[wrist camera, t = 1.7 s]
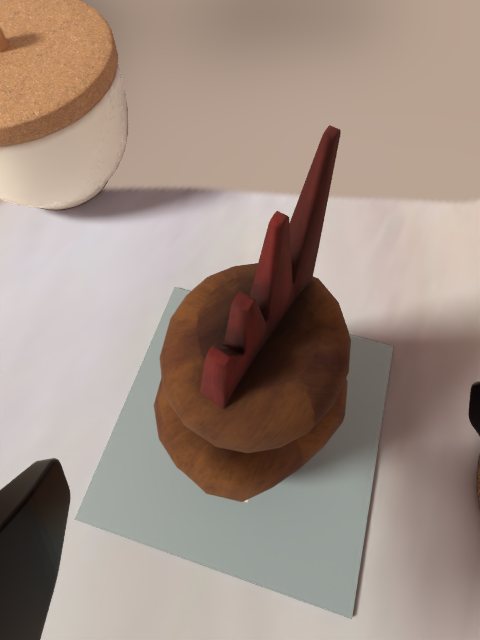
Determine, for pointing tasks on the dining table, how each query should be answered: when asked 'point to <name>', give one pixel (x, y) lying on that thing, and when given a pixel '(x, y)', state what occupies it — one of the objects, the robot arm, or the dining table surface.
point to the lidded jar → (58, 103)
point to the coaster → (478, 479)
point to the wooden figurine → (258, 358)
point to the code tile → (259, 511)
